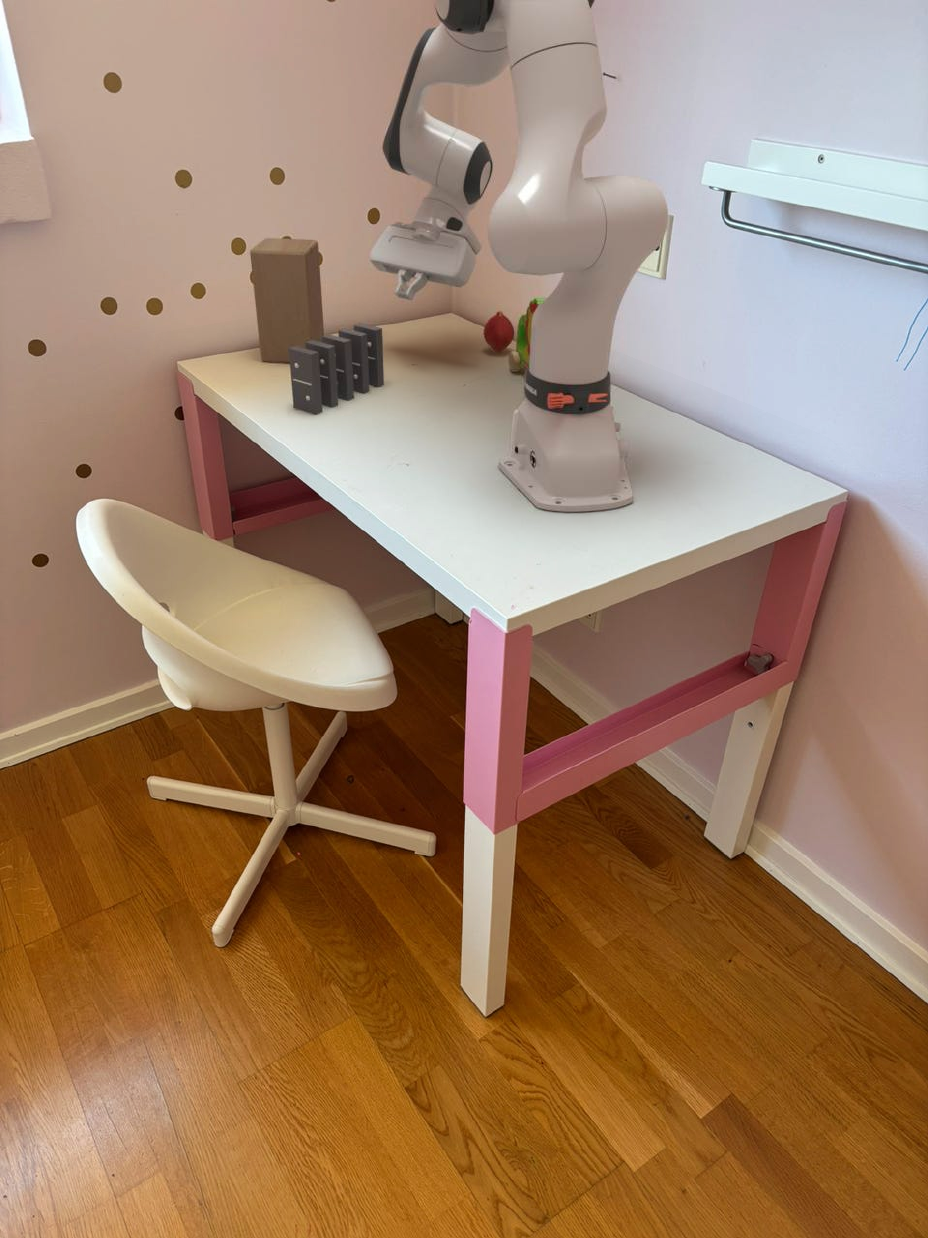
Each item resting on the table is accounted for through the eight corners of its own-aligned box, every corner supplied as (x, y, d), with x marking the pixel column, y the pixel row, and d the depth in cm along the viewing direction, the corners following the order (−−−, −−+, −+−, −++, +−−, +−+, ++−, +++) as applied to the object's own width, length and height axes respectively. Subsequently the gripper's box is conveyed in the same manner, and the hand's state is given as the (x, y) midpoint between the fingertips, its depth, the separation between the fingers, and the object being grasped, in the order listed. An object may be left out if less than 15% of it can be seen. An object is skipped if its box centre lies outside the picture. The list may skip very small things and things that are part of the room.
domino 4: (347, 384, 167) (344, 328, 162) (369, 391, 165) (367, 333, 159) (341, 387, 166) (338, 330, 161) (363, 393, 164) (360, 336, 158)
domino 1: (300, 404, 159) (295, 345, 154) (322, 411, 157) (318, 352, 151) (293, 407, 158) (288, 348, 152) (315, 414, 156) (311, 354, 150)
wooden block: (325, 347, 184) (318, 239, 173) (313, 364, 176) (305, 252, 165) (275, 345, 185) (264, 237, 174) (260, 362, 177) (249, 249, 165)
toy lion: (506, 368, 176) (509, 284, 168) (534, 366, 177) (539, 282, 169) (532, 398, 163) (537, 309, 155) (562, 396, 164) (568, 307, 156)
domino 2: (316, 398, 162) (312, 339, 156) (338, 404, 160) (334, 345, 154) (309, 400, 161) (305, 342, 155) (331, 407, 158) (327, 348, 153)
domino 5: (362, 378, 170) (359, 322, 165) (383, 384, 168) (382, 328, 162) (356, 381, 169) (353, 325, 163) (377, 387, 167) (375, 330, 161)
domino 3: (332, 391, 165) (328, 334, 159) (353, 397, 162) (351, 339, 157) (325, 394, 163) (321, 336, 158) (347, 400, 161) (344, 342, 156)
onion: (481, 347, 186) (482, 305, 181) (510, 346, 186) (512, 305, 182) (485, 357, 181) (486, 314, 177) (515, 356, 182) (517, 314, 177)
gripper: (382, 209, 171) (349, 276, 170) (475, 225, 161) (441, 296, 160) (398, 231, 177) (366, 296, 176) (489, 248, 167) (456, 317, 166)
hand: (403, 296), depth 168 cm, fingers closed
